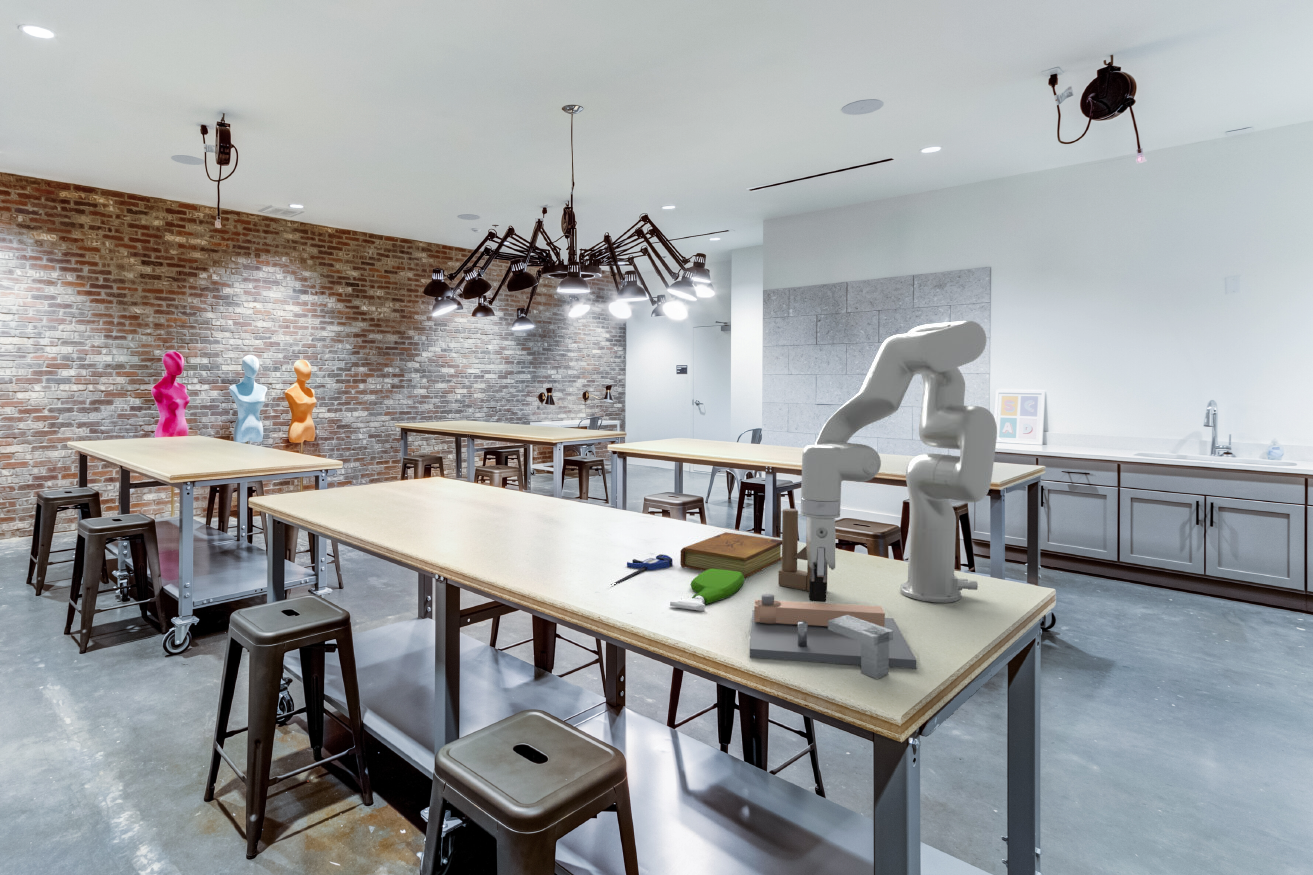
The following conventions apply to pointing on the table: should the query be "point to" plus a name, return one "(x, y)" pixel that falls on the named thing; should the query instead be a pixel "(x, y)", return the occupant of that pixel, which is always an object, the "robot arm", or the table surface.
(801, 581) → the wooden block
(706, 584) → the spray bottle
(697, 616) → the table surface
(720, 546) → the diary
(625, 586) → the table surface
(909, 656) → the base board
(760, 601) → the link
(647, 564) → the bar clamp
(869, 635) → the keeper
